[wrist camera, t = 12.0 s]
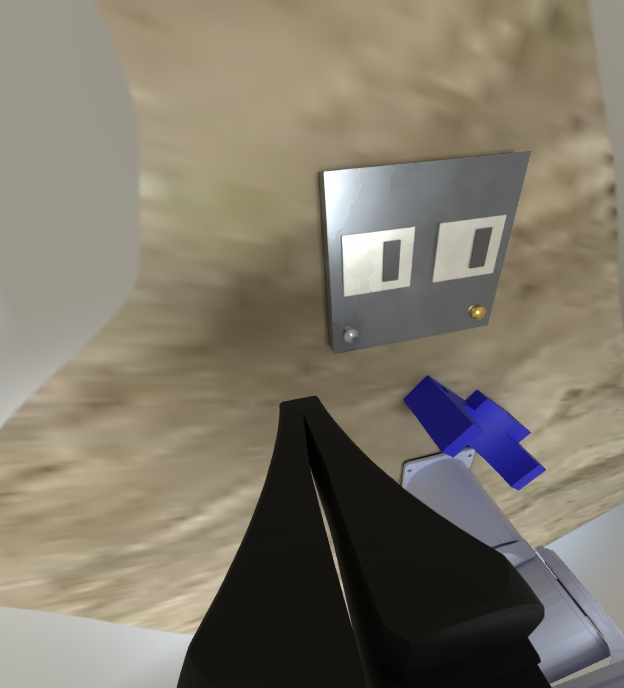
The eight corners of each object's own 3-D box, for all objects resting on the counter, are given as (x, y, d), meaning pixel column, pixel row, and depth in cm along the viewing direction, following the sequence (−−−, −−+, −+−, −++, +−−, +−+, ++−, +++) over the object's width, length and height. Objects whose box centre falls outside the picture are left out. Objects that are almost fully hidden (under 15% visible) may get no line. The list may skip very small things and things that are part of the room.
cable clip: (506, 410, 30) (560, 458, 25) (473, 439, 31) (518, 490, 26) (438, 361, 24) (490, 409, 19) (402, 398, 26) (441, 451, 21)
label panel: (476, 318, 23) (490, 327, 21) (329, 345, 21) (335, 356, 20) (513, 152, 17) (536, 150, 16) (318, 172, 16) (325, 171, 14)
